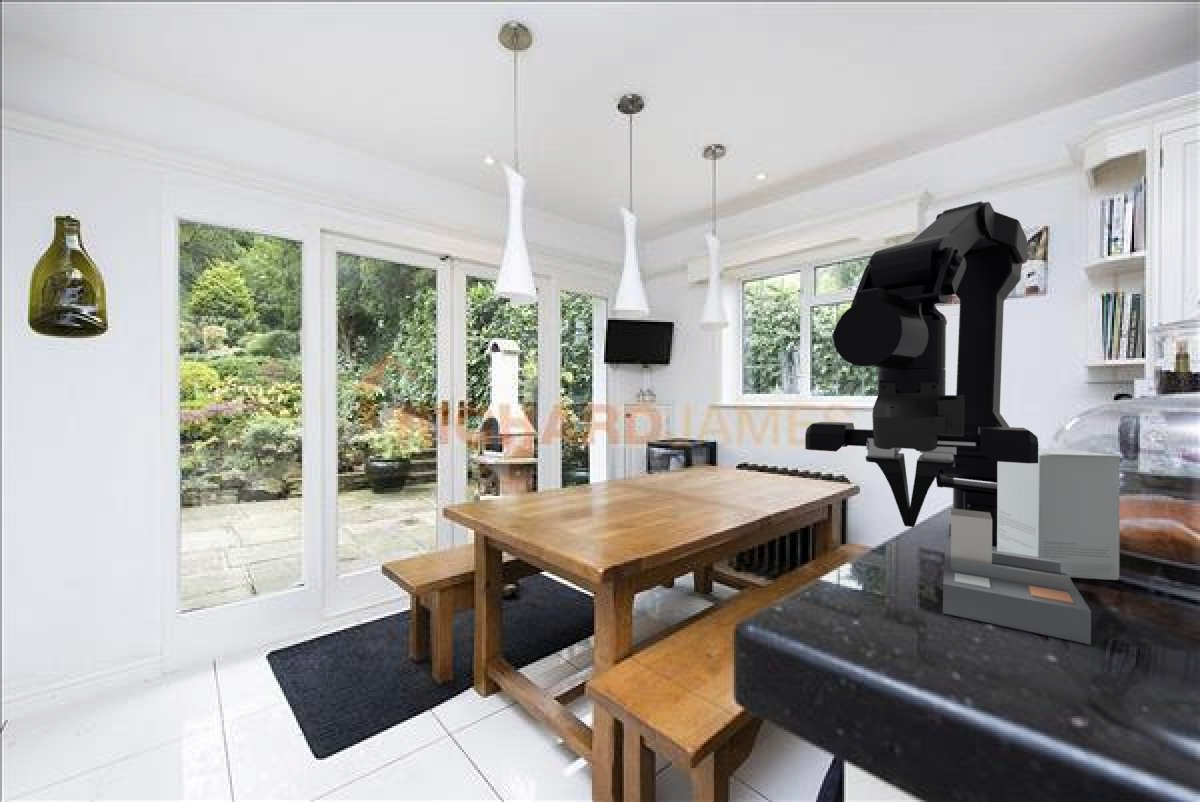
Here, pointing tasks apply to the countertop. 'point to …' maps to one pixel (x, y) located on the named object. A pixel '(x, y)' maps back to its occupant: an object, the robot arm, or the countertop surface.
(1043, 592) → the switch board
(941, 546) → the countertop surface
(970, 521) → the switch tab
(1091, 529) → the supplement box
